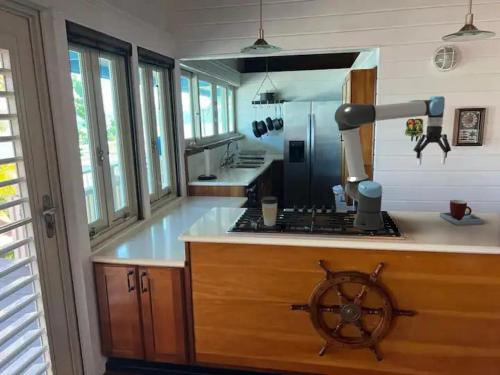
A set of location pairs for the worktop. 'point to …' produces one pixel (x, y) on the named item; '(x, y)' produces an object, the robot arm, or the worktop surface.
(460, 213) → the mug
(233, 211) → the worktop surface
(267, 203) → the coffee cup
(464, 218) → the tray
